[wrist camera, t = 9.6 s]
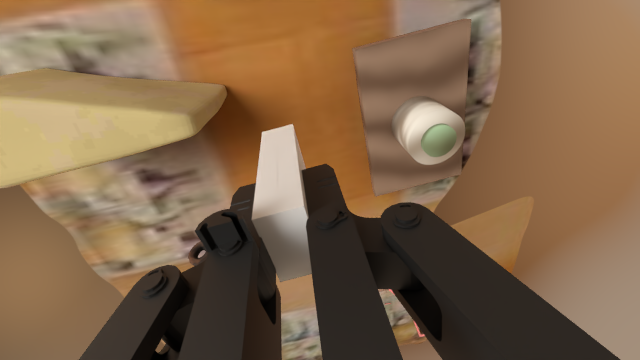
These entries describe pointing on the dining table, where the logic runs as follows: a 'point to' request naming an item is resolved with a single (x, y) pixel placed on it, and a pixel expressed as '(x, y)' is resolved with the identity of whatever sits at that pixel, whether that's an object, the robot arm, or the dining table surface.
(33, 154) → the cheese
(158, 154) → the dining table surface
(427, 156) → the panel with push button
